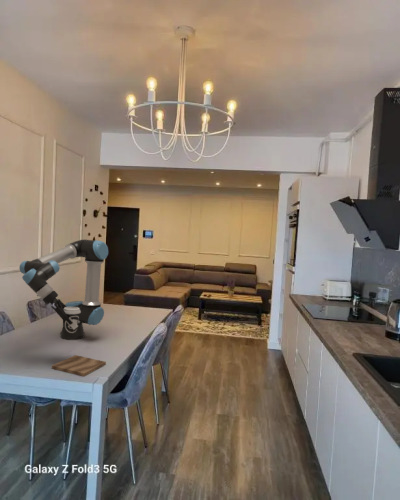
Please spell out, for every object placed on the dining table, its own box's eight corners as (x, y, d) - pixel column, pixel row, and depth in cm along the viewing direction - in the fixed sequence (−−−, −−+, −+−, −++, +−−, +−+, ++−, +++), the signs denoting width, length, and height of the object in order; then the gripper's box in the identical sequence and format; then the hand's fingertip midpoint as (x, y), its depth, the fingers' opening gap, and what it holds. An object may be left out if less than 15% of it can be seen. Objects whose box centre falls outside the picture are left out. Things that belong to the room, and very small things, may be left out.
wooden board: (51, 368, 178) (51, 365, 178) (75, 357, 195) (75, 355, 195) (83, 376, 171) (84, 373, 171) (105, 364, 188) (105, 361, 188)
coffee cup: (81, 334, 193) (83, 307, 193) (75, 339, 184) (77, 311, 183) (63, 332, 193) (66, 305, 193) (56, 337, 184) (59, 309, 183)
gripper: (45, 295, 195) (73, 325, 199) (37, 303, 174) (68, 336, 178) (56, 286, 196) (84, 316, 200) (49, 293, 175) (80, 326, 180)
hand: (76, 325), depth 189 cm, fingers closed on coffee cup, 8 cm apart
